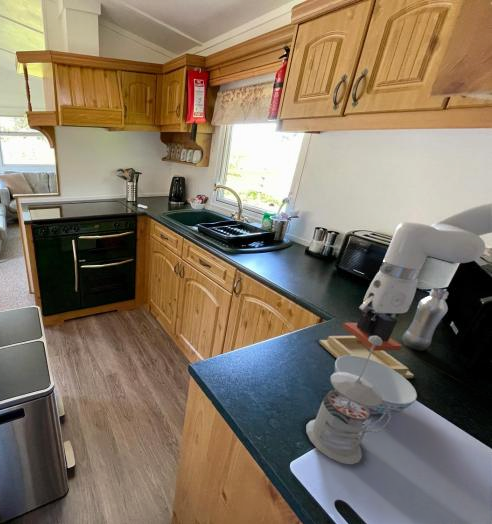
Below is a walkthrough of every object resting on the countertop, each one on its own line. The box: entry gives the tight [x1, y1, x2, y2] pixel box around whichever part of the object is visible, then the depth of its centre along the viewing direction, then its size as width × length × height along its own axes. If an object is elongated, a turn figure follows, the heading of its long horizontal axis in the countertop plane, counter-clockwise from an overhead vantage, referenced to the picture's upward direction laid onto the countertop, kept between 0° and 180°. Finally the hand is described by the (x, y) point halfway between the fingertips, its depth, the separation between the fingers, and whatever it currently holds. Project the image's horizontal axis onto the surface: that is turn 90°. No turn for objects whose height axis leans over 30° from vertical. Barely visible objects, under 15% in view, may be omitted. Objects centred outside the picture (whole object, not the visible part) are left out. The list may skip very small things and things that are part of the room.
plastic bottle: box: [401, 287, 449, 352], centre depth 89 cm, size 6×7×20 cm
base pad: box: [318, 335, 415, 379], centre depth 84 cm, size 16×16×3 cm
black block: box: [342, 310, 403, 352], centre depth 80 cm, size 8×11×8 cm
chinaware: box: [334, 355, 418, 415], centre depth 67 cm, size 15×15×8 cm
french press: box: [305, 336, 392, 465], centre depth 54 cm, size 10×12×25 cm
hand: (373, 330), depth 81 cm, fingers closed on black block, 3 cm apart
